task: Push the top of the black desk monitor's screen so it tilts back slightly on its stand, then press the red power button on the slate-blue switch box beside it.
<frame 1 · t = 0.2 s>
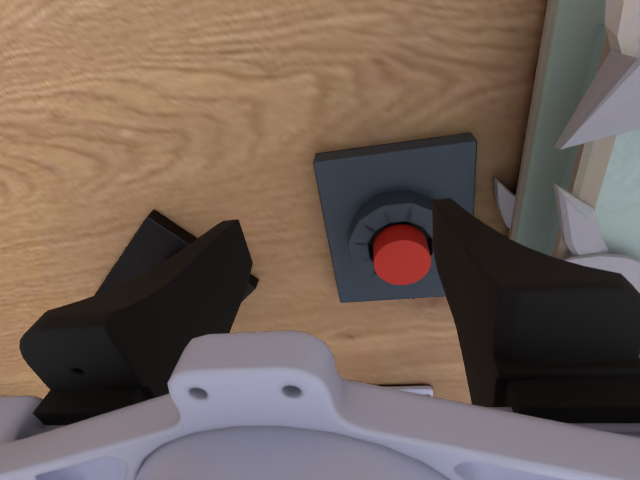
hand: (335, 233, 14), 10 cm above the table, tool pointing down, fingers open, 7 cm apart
switch box: (396, 223, 25), on the table
monitor stand: (182, 287, 30), on the table
power button: (400, 254, 22), point 4 cm above the table, slide at 0.2 cm
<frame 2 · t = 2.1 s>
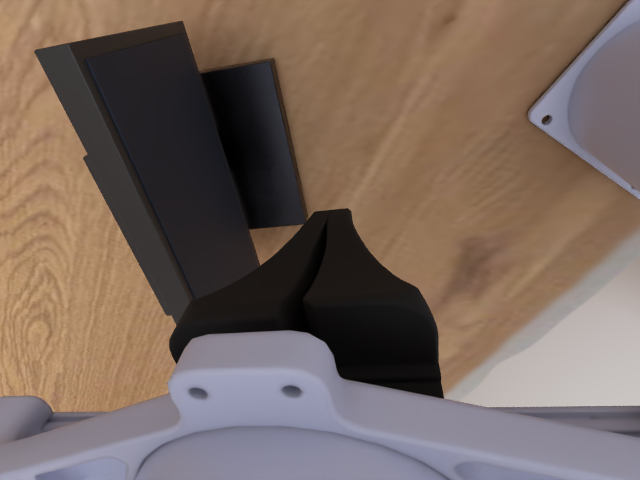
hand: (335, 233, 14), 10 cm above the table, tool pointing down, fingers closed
screen: (186, 204, 19), point 7 cm above the table, hinge at 0.0°
monitor stand: (231, 154, 24), on the table
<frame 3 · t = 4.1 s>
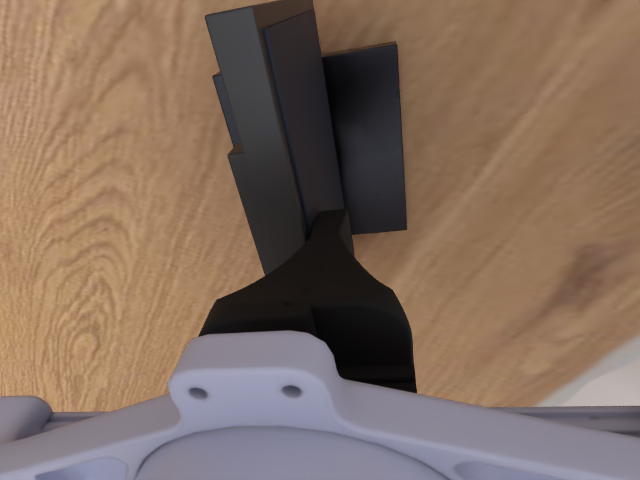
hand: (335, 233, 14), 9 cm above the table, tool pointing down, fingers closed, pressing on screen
screen: (306, 209, 16), point 7 cm above the table, hinge at 2.4°, touching gripper
monitor stand: (328, 152, 21), on the table
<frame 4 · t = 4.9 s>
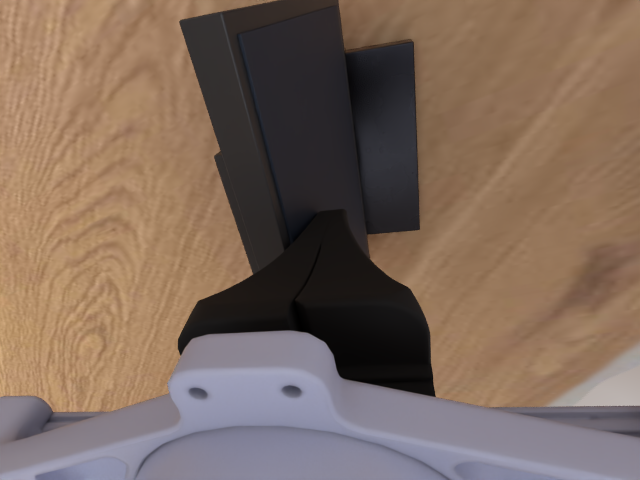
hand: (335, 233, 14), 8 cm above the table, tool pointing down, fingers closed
screen: (311, 212, 16), point 7 cm above the table, hinge at 14.2°, touching gripper
monitor stand: (341, 151, 21), on the table
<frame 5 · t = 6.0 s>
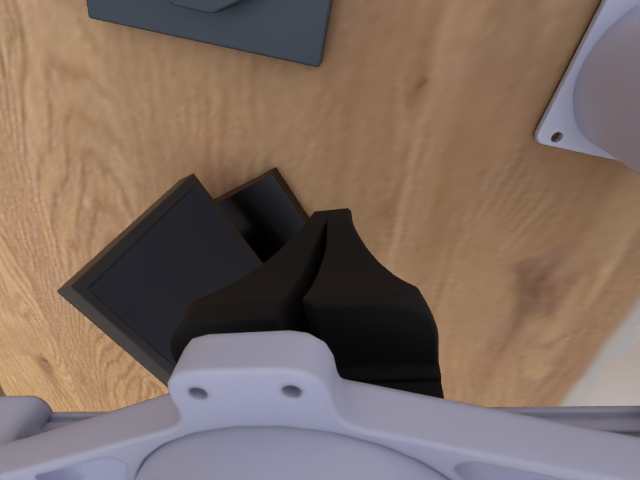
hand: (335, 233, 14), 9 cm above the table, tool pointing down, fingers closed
screen: (228, 329, 21), point 7 cm above the table, hinge at 14.2°
monitor stand: (267, 253, 26), on the table
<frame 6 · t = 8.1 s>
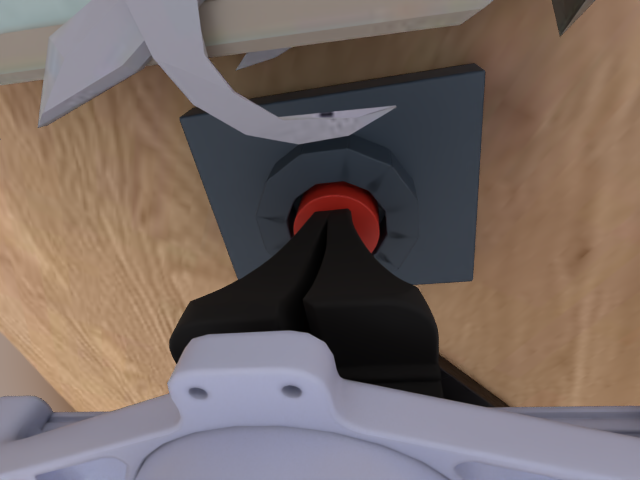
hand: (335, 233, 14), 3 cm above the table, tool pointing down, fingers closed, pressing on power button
switch box: (340, 192, 17), on the table
monitor stand: (435, 414, 25), on the table
power button: (337, 221, 15), point 3 cm above the table, slide at -0.8 cm, touching gripper
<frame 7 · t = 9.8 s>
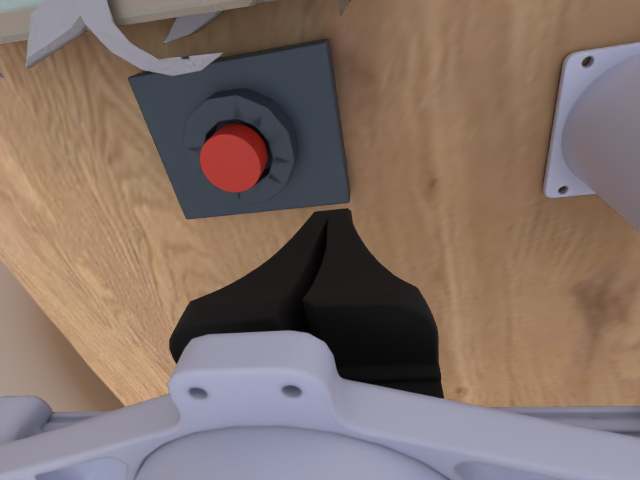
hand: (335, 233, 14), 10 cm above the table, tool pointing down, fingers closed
switch box: (251, 136, 23), on the table
power button: (234, 158, 20), point 4 cm above the table, slide at 0.2 cm
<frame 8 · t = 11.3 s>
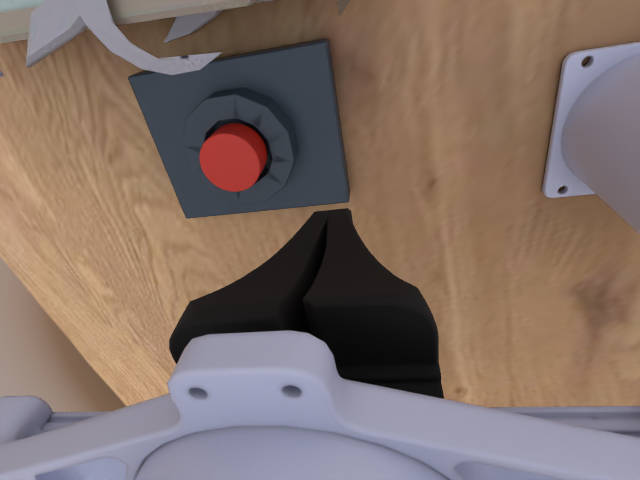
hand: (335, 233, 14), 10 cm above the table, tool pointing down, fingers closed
switch box: (251, 135, 23), on the table
power button: (234, 157, 20), point 4 cm above the table, slide at 0.2 cm
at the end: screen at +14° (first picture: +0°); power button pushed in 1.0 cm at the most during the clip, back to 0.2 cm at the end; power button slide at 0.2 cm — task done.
